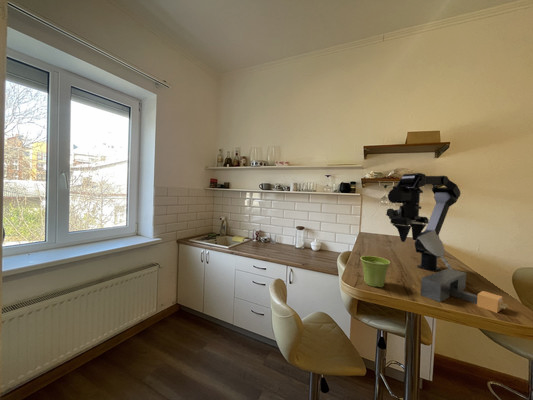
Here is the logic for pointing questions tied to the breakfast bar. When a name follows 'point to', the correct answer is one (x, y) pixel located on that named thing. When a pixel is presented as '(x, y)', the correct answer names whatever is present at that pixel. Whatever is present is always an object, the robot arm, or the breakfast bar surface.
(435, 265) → the robot arm
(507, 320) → the breakfast bar surface
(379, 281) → the plant pot
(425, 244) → the chalice
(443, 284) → the block
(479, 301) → the plug
